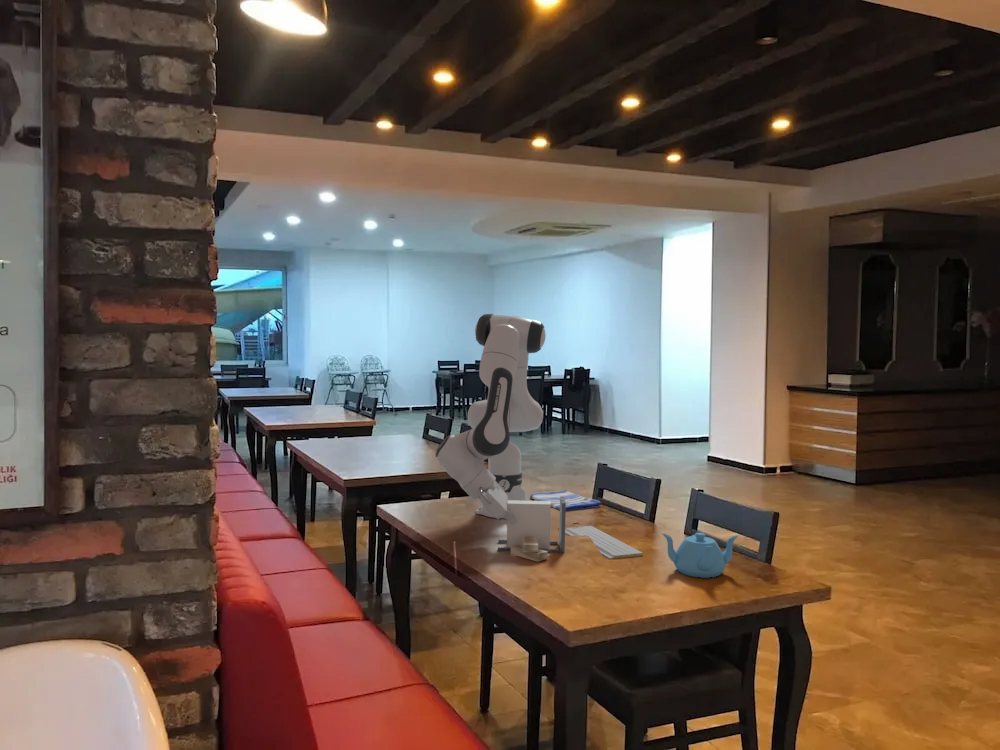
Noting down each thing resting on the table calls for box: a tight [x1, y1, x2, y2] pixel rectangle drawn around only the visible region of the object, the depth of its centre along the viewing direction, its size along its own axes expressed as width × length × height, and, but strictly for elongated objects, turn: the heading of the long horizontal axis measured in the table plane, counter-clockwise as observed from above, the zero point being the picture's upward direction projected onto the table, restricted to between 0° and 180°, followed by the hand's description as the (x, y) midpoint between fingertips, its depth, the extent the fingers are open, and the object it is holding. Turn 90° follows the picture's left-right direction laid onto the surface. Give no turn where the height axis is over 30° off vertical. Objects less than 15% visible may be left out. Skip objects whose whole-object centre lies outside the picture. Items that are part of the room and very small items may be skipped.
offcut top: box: [522, 536, 538, 552], centre depth 209 cm, size 4×9×2 cm, turn 1°
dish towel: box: [529, 489, 602, 512], centre depth 281 cm, size 17×24×3 cm
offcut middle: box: [510, 544, 549, 563], centre depth 208 cm, size 4×10×2 cm, turn 45°
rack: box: [497, 496, 567, 554], centre depth 217 cm, size 9×18×15 cm, turn 89°
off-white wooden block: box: [506, 500, 552, 549], centre depth 217 cm, size 4×12×14 cm, turn 89°
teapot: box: [661, 532, 739, 579], centre depth 201 cm, size 15×15×10 cm
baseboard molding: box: [557, 522, 644, 560], centre depth 228 cm, size 31×3×12 cm
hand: (514, 519), depth 217 cm, fingers closed on off-white wooden block, 4 cm apart
